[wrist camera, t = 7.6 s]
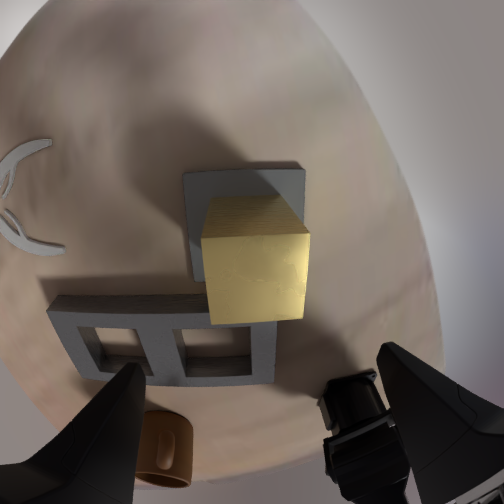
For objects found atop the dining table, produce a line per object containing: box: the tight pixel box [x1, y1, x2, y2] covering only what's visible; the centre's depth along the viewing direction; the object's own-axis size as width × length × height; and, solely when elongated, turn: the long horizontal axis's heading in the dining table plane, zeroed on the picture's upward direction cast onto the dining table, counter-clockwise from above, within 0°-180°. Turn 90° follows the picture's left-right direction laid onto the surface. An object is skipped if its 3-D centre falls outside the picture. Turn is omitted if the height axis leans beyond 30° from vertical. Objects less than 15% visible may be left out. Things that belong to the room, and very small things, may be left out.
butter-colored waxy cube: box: [201, 195, 310, 325], centre depth 15 cm, size 5×5×7 cm
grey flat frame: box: [46, 294, 277, 387], centre depth 22 cm, size 20×9×2 cm, turn 91°
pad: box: [183, 168, 306, 282], centre depth 19 cm, size 8×8×1 cm
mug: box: [135, 411, 193, 488], centre depth 25 cm, size 12×8×9 cm, turn 161°
